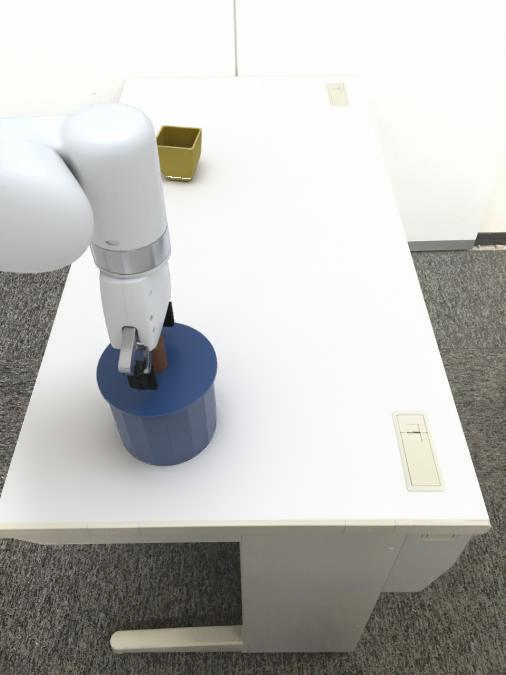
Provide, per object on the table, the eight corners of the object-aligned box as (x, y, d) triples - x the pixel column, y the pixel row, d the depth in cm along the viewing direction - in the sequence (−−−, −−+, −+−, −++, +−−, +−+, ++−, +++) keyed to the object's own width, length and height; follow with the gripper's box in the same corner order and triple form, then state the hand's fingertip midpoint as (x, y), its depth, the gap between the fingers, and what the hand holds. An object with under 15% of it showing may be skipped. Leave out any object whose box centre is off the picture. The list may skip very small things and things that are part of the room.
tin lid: (116, 440, 60) (105, 412, 56) (85, 348, 69) (75, 318, 64) (236, 395, 64) (235, 366, 60) (193, 314, 73) (189, 283, 69)
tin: (135, 481, 70) (118, 431, 60) (109, 402, 78) (89, 347, 68) (231, 443, 73) (229, 390, 64) (196, 371, 81) (189, 315, 72)
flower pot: (156, 184, 114) (150, 145, 108) (166, 162, 120) (162, 124, 113) (196, 188, 114) (193, 149, 107) (205, 165, 119) (202, 127, 112)
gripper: (115, 187, 57) (139, 301, 70) (62, 302, 45) (103, 412, 58) (184, 192, 56) (196, 305, 69) (149, 308, 45) (170, 418, 58)
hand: (153, 354), depth 64 cm, fingers open, 9 cm apart
